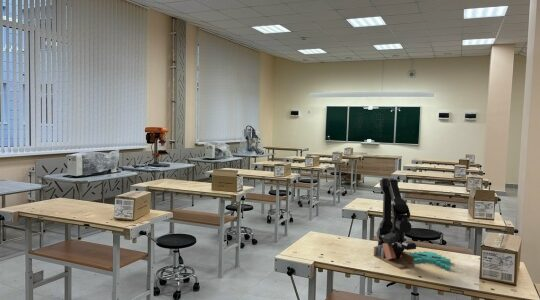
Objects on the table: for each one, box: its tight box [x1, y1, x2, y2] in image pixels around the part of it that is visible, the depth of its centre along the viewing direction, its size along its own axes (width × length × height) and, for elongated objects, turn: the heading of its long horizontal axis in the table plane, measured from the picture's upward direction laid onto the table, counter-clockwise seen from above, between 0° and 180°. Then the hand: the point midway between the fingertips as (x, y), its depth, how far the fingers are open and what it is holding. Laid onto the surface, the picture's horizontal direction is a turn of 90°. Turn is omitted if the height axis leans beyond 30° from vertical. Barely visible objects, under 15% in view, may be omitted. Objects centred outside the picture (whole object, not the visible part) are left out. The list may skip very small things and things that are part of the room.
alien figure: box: [408, 250, 451, 272], centre depth 201 cm, size 20×2×20 cm
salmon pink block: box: [382, 243, 402, 260], centre depth 198 cm, size 7×4×8 cm, turn 114°
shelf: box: [373, 244, 415, 270], centre depth 198 cm, size 9×19×6 cm, turn 24°
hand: (397, 259), depth 194 cm, fingers closed
